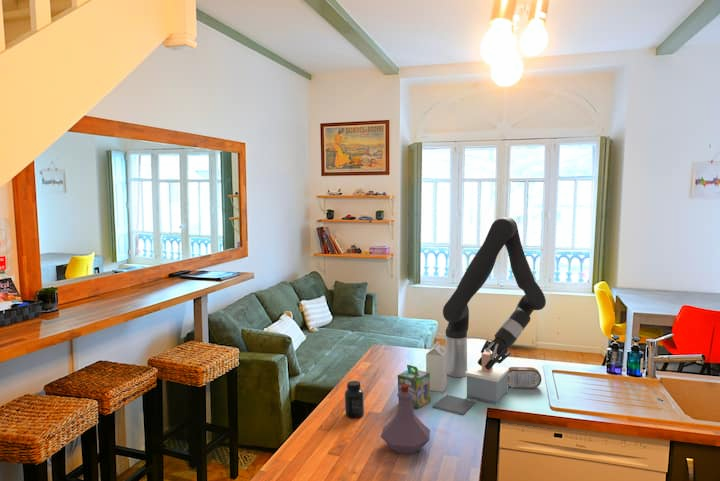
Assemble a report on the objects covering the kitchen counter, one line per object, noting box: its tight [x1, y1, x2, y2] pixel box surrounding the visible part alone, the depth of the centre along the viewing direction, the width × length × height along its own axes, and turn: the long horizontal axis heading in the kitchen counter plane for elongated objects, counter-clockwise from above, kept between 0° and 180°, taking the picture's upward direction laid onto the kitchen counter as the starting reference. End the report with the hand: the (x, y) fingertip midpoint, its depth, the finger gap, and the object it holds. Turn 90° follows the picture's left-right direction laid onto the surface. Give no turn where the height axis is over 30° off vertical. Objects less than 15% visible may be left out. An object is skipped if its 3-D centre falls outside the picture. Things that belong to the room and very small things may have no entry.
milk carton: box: [425, 340, 448, 393], centre depth 198 cm, size 7×7×19 cm
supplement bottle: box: [344, 380, 365, 419], centre depth 176 cm, size 7×7×12 cm
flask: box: [380, 384, 431, 455], centre depth 153 cm, size 16×16×20 cm
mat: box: [432, 394, 477, 416], centre depth 183 cm, size 12×12×1 cm
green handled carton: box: [397, 364, 431, 410], centre depth 186 cm, size 9×9×15 cm
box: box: [466, 374, 508, 405], centre depth 190 cm, size 12×12×9 cm
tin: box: [507, 366, 542, 390], centre depth 197 cm, size 15×3×8 cm, turn 84°
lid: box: [465, 350, 510, 382], centre depth 190 cm, size 13×13×8 cm
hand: (483, 366), depth 189 cm, fingers closed on lid, 4 cm apart
